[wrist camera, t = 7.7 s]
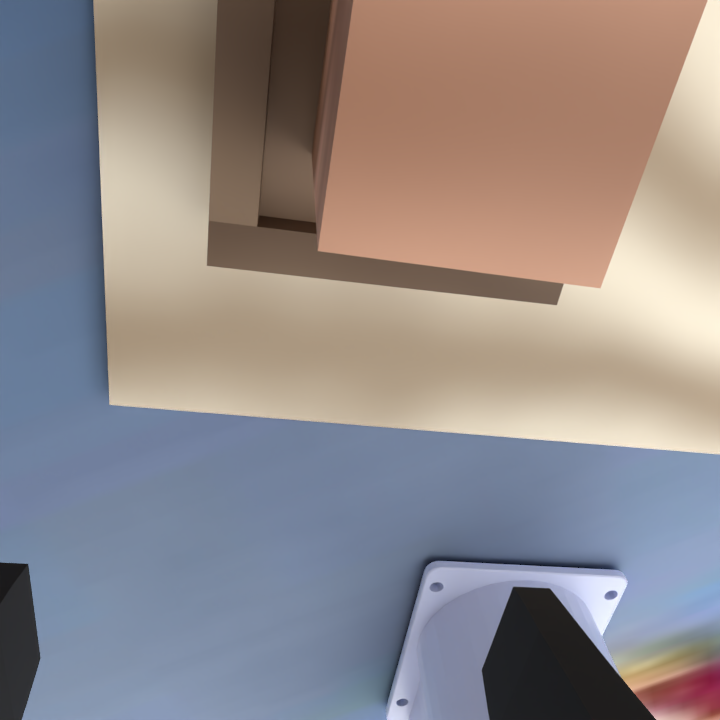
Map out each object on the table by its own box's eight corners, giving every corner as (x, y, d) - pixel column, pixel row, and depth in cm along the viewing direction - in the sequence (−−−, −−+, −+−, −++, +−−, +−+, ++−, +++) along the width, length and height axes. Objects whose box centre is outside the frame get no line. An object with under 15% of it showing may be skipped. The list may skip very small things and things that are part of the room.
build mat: (837, 454, 23) (926, 530, 20) (114, 394, 20) (76, 474, 16) (1237, -179, 15) (1511, -231, 11) (83, -491, 11) (-11, -701, 8)
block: (491, 182, 14) (600, 288, 9) (311, 154, 14) (317, 251, 8) (545, -26, 12) (723, -43, 7) (340, -68, 12) (369, -122, 7)
